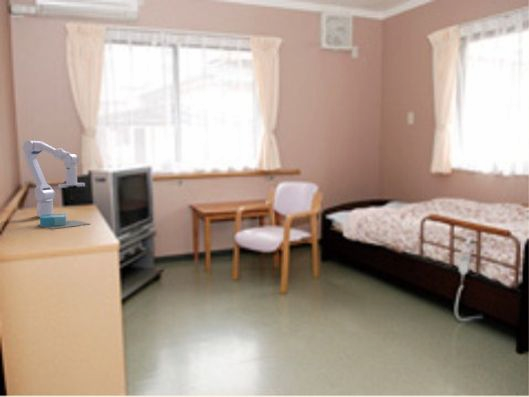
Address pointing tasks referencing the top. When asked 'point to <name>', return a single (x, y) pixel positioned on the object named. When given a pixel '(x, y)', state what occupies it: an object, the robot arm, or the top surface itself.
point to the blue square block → (52, 220)
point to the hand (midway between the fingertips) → (72, 199)
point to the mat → (68, 224)
